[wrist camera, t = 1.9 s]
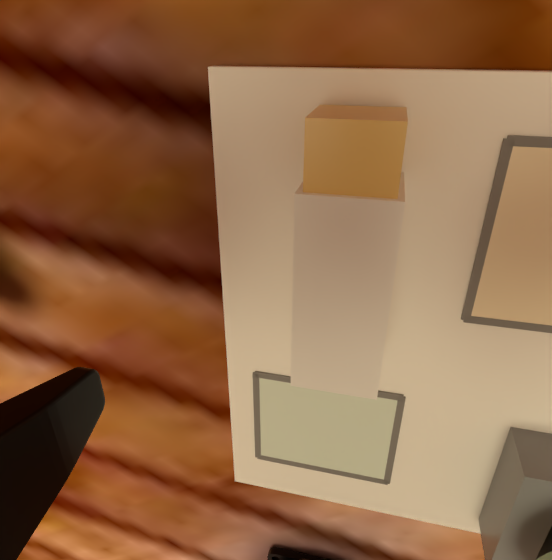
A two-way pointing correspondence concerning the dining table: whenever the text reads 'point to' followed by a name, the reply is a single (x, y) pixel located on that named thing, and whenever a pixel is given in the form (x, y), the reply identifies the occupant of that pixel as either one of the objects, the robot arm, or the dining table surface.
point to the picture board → (394, 287)
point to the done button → (546, 556)
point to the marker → (346, 246)
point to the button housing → (519, 499)
